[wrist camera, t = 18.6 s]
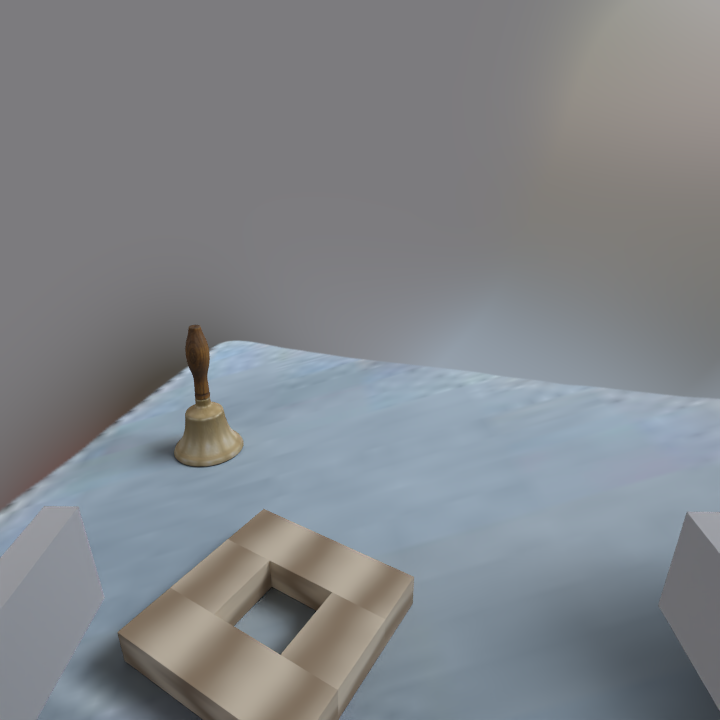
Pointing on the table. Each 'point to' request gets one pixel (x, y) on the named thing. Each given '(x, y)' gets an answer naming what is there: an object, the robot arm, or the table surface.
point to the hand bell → (204, 414)
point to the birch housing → (253, 659)
